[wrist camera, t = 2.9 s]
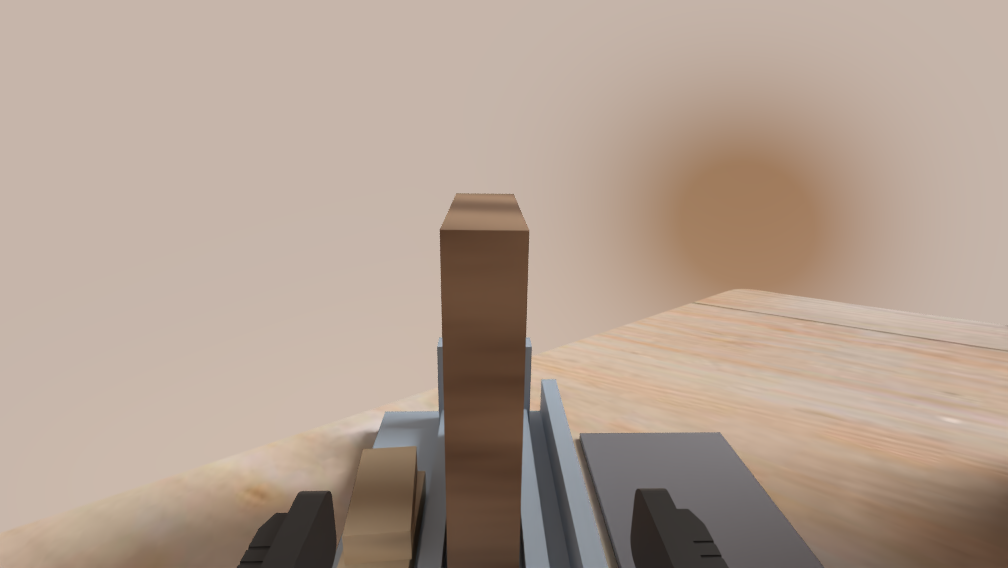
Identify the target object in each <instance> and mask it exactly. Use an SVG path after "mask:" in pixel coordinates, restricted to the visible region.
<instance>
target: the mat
mask: <svg viewBox="0 0 1008 568" xmlns="http://www.w3.org/2000/svg"><path fill="white" fill-rule="evenodd" d="M580 441H581V444H582V447H583V451H584V454H585V457H586V461H587V464H588V467H589V470H590V474H591V477H592V480H593V484H594V487H595V490H596V494H597V497H598V500H599V503H600V507H601V510H602V513H603V517H604V520H605V523H606V526H607V530H608V533H609V536H610V540H611V543H612V546H613V549H614V553H615V556H616V559H617V563H618V566H619V568H636V567H635V564H634V561H633V557H632V552H631V544H630V534H631V524H632V515H633V506H634V497H635V491H636V489H638V488H665V489H667V491H668V492H669V494H670V496H671V498H672V500H673V502H674V504H675V506H676V508H677V509H689V510H690V511H691V512H692V513H693V514H694V515H696V516H697V517H698V518H699V519H700V520H701V521H702V522H703V523H704V524H705V526H706V528H707V529H708V531H709V533H710V535H711V537H712V538H713V540H714V544H716V546H717V547H718V549H719V551H720V553H721V555H722V558H724V560H725V562H726V564H727V565H728V567H729V568H824V567H823V565H822V564H821V563H820V561H819V560H818V559H817V558H816V556H815V555H814V554H813V552H812V551H811V550H810V548H809V547H808V546H807V545H806V543H805V542H804V541H803V539H802V538H801V537H800V536H799V534H798V533H797V532H796V530H795V529H794V528H793V526H792V525H791V524H790V523H789V521H788V520H787V519H786V517H785V516H784V515H783V514H782V512H781V511H780V510H779V508H778V507H777V506H776V504H775V503H774V502H773V501H772V499H771V498H770V497H769V495H768V494H767V493H766V491H765V490H764V489H763V488H762V486H761V485H760V484H759V482H758V481H757V480H756V479H755V477H754V476H753V475H752V473H751V472H750V471H749V469H748V468H747V467H746V466H745V464H744V463H743V462H742V460H741V459H740V458H739V457H738V455H737V454H736V453H735V451H734V450H733V449H732V447H731V446H730V445H729V444H728V442H727V441H726V440H725V438H724V437H723V436H722V434H721V433H720V432H717V433H580Z"/></svg>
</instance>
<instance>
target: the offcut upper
mask: <svg viewBox="0 0 1008 568" xmlns="http://www.w3.org/2000/svg"><path fill="white" fill-rule="evenodd" d="M417 470H418V469H417V446H406V447H390V448H373V449H363V450H362V455H361V459H360V463H359V467H358V471H357V476H356V480H355V484H354V488H353V492H352V496H351V501H350V505H349V509H348V513H347V517H346V522H345V526H344V530H343V534H342V542H343V552H344V562H345V565H350V564H361V563H373V562H385V561H396V560H408V559H412V548H413V532H414V517H415V501H416V486H417Z"/></svg>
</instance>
